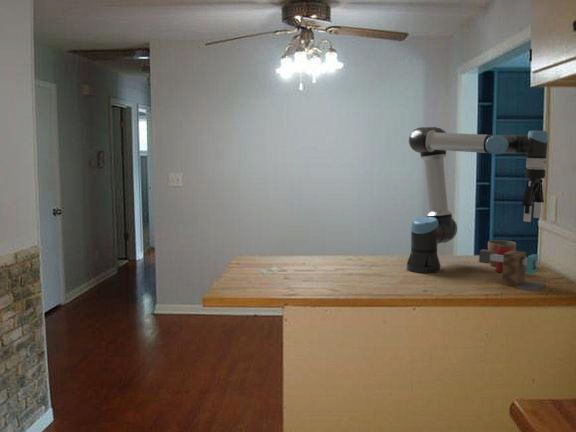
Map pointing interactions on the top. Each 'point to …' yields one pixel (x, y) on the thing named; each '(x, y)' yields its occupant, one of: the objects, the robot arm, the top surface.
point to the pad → (531, 286)
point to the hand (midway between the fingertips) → (532, 219)
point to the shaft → (498, 258)
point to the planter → (494, 245)
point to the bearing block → (513, 268)
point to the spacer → (531, 264)
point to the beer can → (501, 251)
